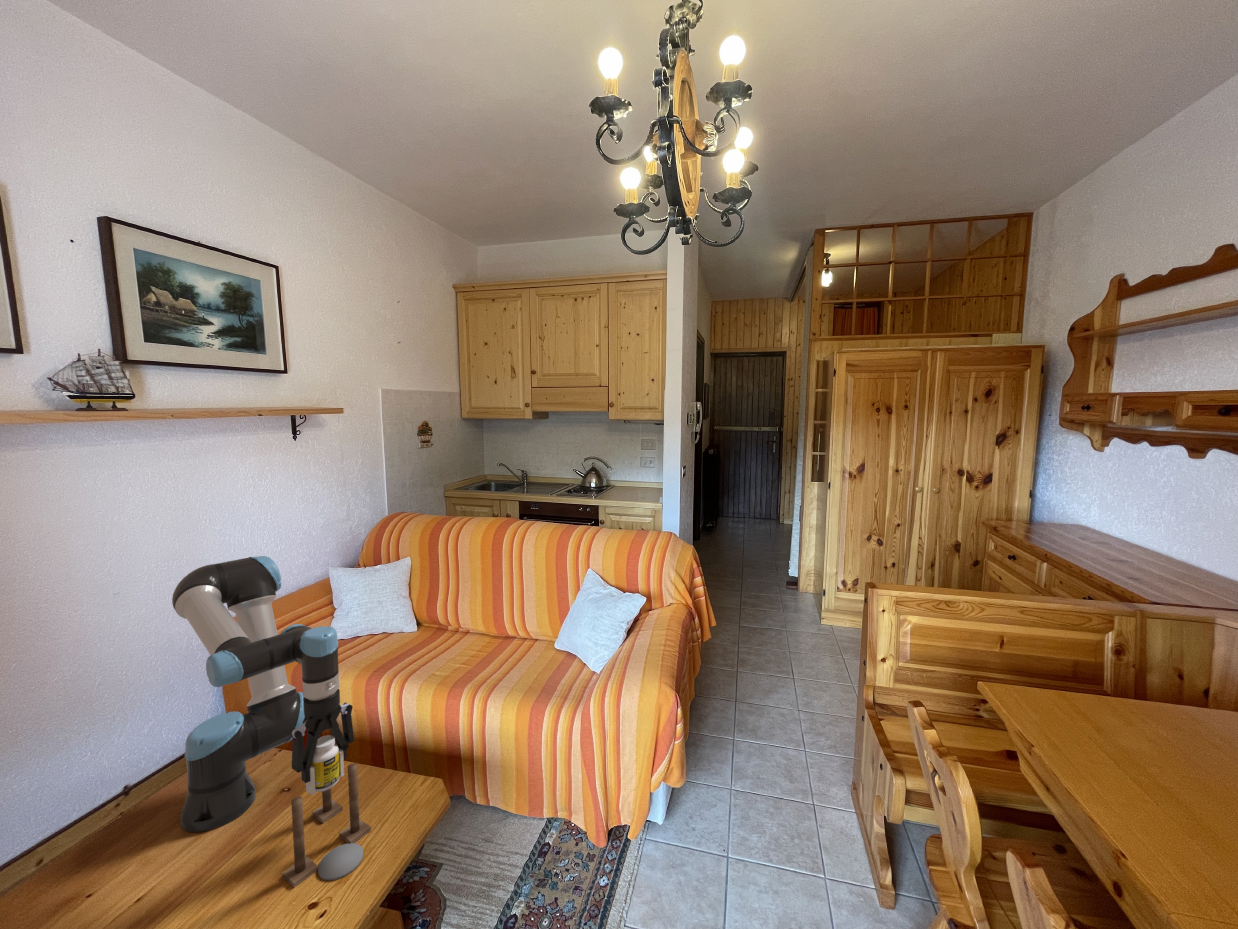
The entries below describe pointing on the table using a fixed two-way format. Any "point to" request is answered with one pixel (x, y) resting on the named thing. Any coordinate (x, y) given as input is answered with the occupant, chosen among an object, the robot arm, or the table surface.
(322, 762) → the pill bottle
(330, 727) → the robot arm
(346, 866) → the coaster
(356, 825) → the post corner
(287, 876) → the post
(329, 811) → the post
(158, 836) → the table surface
